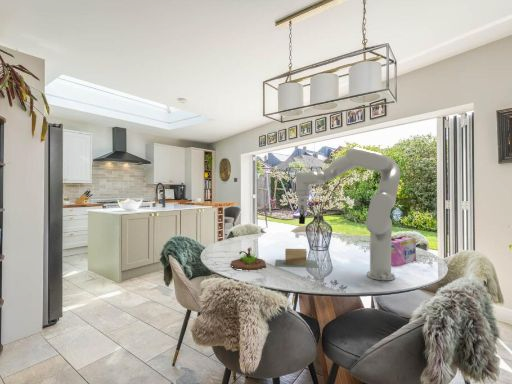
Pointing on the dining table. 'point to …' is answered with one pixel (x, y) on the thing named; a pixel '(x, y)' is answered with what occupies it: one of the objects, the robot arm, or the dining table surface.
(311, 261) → the mat
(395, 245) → the gum box
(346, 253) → the dining table surface
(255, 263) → the plant
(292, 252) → the oak block
